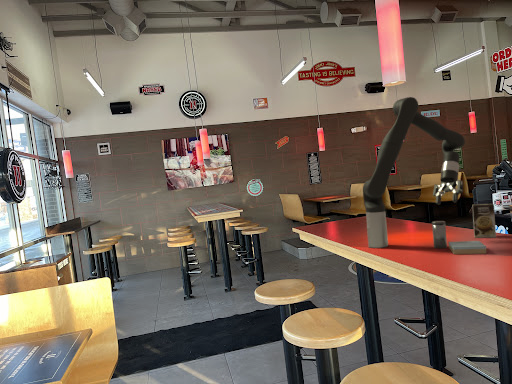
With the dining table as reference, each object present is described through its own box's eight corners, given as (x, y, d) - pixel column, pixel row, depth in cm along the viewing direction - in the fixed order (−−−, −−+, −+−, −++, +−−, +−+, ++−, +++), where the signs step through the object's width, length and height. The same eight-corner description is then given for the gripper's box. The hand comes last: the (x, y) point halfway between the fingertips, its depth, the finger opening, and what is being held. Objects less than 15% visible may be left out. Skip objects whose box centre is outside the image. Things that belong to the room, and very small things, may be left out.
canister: (434, 248, 170) (432, 223, 170) (432, 246, 175) (431, 221, 175) (448, 248, 168) (446, 222, 168) (446, 246, 173) (444, 220, 173)
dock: (453, 254, 156) (453, 247, 156) (448, 248, 168) (448, 241, 168) (486, 253, 153) (486, 246, 153) (479, 247, 164) (478, 240, 164)
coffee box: (474, 237, 185) (472, 205, 185) (474, 235, 191) (471, 204, 190) (496, 237, 181) (494, 204, 181) (495, 235, 187) (492, 203, 186)
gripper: (432, 172, 189) (428, 202, 185) (458, 166, 177) (454, 198, 172) (441, 177, 192) (438, 207, 187) (468, 172, 180) (465, 204, 175)
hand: (446, 203), depth 180 cm, fingers open, 8 cm apart
